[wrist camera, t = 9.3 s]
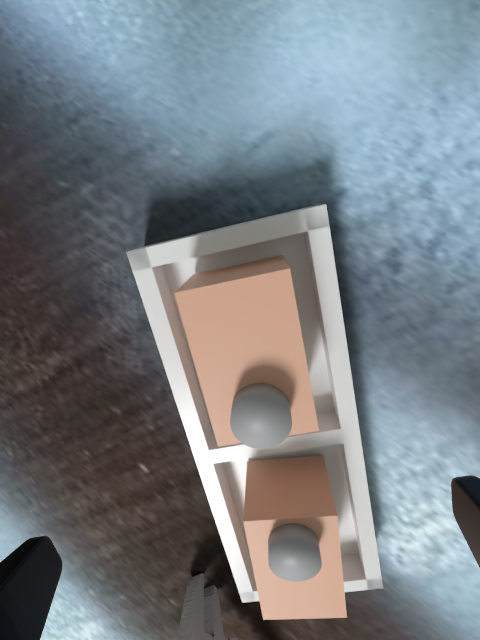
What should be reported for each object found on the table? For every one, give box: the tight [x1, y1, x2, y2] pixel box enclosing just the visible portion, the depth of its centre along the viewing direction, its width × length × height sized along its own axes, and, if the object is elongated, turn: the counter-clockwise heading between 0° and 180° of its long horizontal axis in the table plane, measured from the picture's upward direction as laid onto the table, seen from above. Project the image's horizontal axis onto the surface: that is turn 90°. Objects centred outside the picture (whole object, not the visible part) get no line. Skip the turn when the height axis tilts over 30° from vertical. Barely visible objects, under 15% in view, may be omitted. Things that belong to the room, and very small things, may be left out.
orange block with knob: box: [243, 455, 347, 620], centre depth 18 cm, size 4×7×5 cm, turn 9°
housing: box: [127, 204, 383, 603], centre depth 19 cm, size 9×23×2 cm, turn 13°
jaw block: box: [174, 255, 319, 449], centre depth 15 cm, size 4×7×5 cm, turn 13°
